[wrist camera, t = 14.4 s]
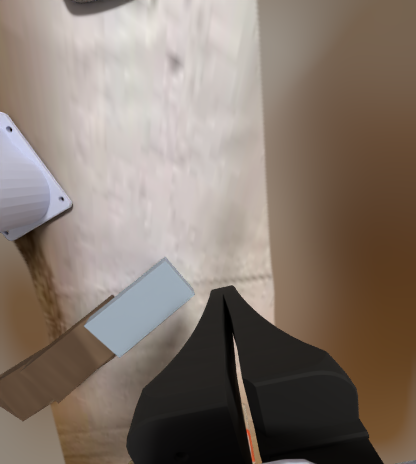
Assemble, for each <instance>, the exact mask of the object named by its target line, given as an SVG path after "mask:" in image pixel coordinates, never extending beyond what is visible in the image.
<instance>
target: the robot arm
mask: <svg viewBox="0 0 416 464" xmlns="http://www.w3.org/2000/svg"><path fill="white" fill-rule="evenodd" d="M10 128H12V132H11V131H10ZM61 197H63V198H64V201H62V199H61ZM71 206H72V202H71V200H70V199H69V197H68V196H67V195H66V193H65V192H64V191H63V189H62V188H61V186H60V185H59V184H58V182H57V181H56V180H55V178H54V177H53V176H52V174H51V173H50V171H49V170H48V169H47V167H46V166H45V165H44V163H43V162H42V161H41V159H40V158H39V157H38V155H37V154H36V152H35V151H34V150H33V148H32V147H31V146H30V144H29V143H28V142H27V140H26V139H25V137H24V136H23V135H22V133H21V132H20V131H19V129H18V128H17V127H16V125H15V124H14V122H13V121H12V120H11V118H10V117H9V116H8V115H7V114H5V113H3V112H0V233H2V234H3V235H4V236H5V237H6V238H7V239H8V240H10V241H13V240H16V239H18V238H20V237H21V236H23V235H25V234H26V233H28V232H30V231H31V230H33V229H35V228H36V227H38V226H40V225H42V224H43V223H45V222H47V221H48V220H50V219H52V218H53V217H55V216H57V215H59V214H60V213H62V212H64V211H65V210H67V209H69V208H70V207H71ZM7 231H8V232H9V233H8V232H7ZM233 336H234V339H235V342H236V346H237V350H238V356H239V362H240V368H241V374H242V380H243V384H244V388H245V392H246V396H247V400H248V404H249V408H250V412H251V416H252V420H253V424H254V428H255V433H256V438H257V443H258V447H259V452H260V457H261V460H262V464H384V463H383V462H382V460H381V458H380V457H379V455H378V454H377V452H376V451H375V449H374V447H373V446H372V444H371V443H370V441H369V439H368V438H369V434H368V432H367V430H366V429H365V427H364V426H363V424H362V422H361V421H360V419H359V412H358V394H357V389H356V387H355V385H354V384H353V383H352V381H351V379H350V378H349V377H348V375H347V374H346V373H345V371H344V370H343V369H342V368H341V367H340V366H339V364H338V363H337V362H336V361H335V360H334V359H333V358H332V357H331V356H330V355H329V354H328V353H327V352H326V351H324V350H321V349H319V348H317V347H314V346H312V345H309V344H307V343H304V342H302V341H300V340H298V339H296V338H294V337H292V336H290V335H289V334H287V333H285V332H284V331H282V330H280V329H278V328H277V327H275V326H274V325H273V324H271V323H270V322H268V321H267V320H266V319H264V318H263V317H262V316H261V315H259V314H258V313H257V312H256V311H255V310H254V309H253V308H252V307H251V306H250V305H249V304H248V303H247V302H246V301H245V300H244V299H243V298H242V297H241V295H240V294H239V293H238V291H237V290H236V288H235V287H234V286H233V285H231V286H227V287H222V288H218V289H213V290H212V291H211V293H210V297H209V300H208V303H207V305H206V308H205V310H204V312H203V315H202V317H201V319H200V321H199V323H198V325H197V326H196V328H195V330H194V332H193V333H192V335H191V336H190V338H189V339H188V341H187V342H186V344H185V345H184V347H183V348H182V349H181V350H180V352H179V353H178V354H177V355H176V357H175V358H174V359H173V360H172V361H171V362H170V363H169V364H168V365H167V367H166V368H165V369H164V370H163V371H162V372H161V373H160V374H159V375H158V376H156V377H155V378H154V379H153V380H152V381H151V382H150V383H149V384H148V385H147V386H146V387H145V388H143V390H142V393H141V396H140V398H139V401H138V403H137V406H136V409H135V412H134V416H133V419H132V423H131V426H130V429H129V433H128V436H127V445H126V447H127V450H128V453H129V455H130V457H131V459H132V461H133V463H134V464H253V462H252V457H251V452H250V446H249V441H248V435H247V430H246V425H245V419H244V414H243V408H242V403H241V397H240V392H239V386H238V380H237V373H236V363H235V352H234V342H233ZM397 464H416V460H413V461H408V462H402V463H397Z"/></svg>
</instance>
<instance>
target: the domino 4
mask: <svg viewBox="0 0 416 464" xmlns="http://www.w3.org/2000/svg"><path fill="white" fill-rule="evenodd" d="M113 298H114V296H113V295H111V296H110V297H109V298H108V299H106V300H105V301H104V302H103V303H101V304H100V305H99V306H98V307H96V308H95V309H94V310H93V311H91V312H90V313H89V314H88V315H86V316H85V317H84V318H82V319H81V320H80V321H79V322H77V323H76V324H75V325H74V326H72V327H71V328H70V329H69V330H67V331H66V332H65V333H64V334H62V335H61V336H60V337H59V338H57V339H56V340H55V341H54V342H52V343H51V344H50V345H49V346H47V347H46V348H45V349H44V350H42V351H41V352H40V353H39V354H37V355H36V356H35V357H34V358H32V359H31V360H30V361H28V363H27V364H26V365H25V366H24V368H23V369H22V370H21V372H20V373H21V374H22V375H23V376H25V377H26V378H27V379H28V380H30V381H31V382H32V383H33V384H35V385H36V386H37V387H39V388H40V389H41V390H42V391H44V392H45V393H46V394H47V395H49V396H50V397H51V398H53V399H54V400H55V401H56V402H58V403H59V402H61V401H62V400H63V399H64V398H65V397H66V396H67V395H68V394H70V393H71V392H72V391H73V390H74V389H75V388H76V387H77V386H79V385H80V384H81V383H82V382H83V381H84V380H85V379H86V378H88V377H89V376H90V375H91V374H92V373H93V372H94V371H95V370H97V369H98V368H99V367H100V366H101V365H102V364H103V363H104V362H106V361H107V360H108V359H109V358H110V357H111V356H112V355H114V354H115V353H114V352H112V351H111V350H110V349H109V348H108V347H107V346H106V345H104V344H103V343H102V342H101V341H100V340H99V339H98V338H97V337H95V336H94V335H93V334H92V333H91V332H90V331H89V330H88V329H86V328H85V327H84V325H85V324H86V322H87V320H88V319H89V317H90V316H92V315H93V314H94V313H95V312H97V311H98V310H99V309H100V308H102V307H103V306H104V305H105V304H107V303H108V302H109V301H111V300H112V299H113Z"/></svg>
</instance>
